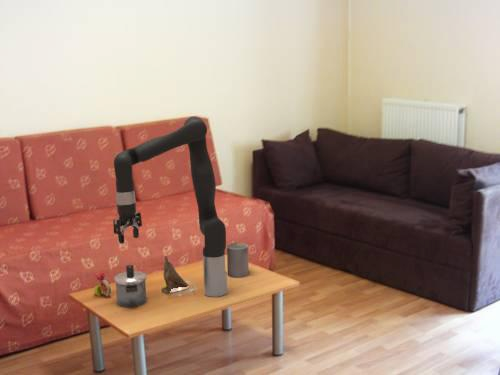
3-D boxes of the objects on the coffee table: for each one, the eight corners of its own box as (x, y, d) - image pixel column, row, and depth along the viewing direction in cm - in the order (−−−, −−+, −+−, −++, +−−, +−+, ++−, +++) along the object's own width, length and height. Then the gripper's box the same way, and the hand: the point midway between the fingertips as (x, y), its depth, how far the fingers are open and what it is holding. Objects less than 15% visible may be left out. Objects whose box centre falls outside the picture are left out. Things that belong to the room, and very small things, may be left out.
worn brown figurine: (167, 300, 302) (156, 262, 296) (161, 296, 306) (151, 258, 300) (191, 288, 307) (181, 251, 301) (185, 285, 312) (175, 248, 306)
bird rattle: (114, 299, 304) (101, 287, 308) (119, 278, 298) (106, 266, 303) (102, 303, 299) (90, 291, 304) (107, 282, 294) (94, 270, 299)
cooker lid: (145, 272, 299) (144, 259, 298) (147, 282, 287) (146, 269, 286) (114, 275, 297) (113, 262, 296) (114, 285, 284) (113, 272, 283)
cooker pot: (116, 295, 301) (114, 273, 299) (145, 292, 304) (144, 270, 302) (117, 311, 284) (115, 287, 282) (148, 308, 287) (147, 284, 284)
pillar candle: (225, 272, 327) (224, 241, 323) (245, 269, 330) (244, 238, 326) (231, 279, 318) (229, 247, 314) (251, 276, 321) (250, 244, 317)
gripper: (131, 197, 294) (133, 234, 297) (106, 204, 282) (110, 243, 286) (144, 199, 290) (147, 237, 293) (120, 206, 278) (124, 246, 282)
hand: (129, 240), depth 290 cm, fingers open, 8 cm apart
